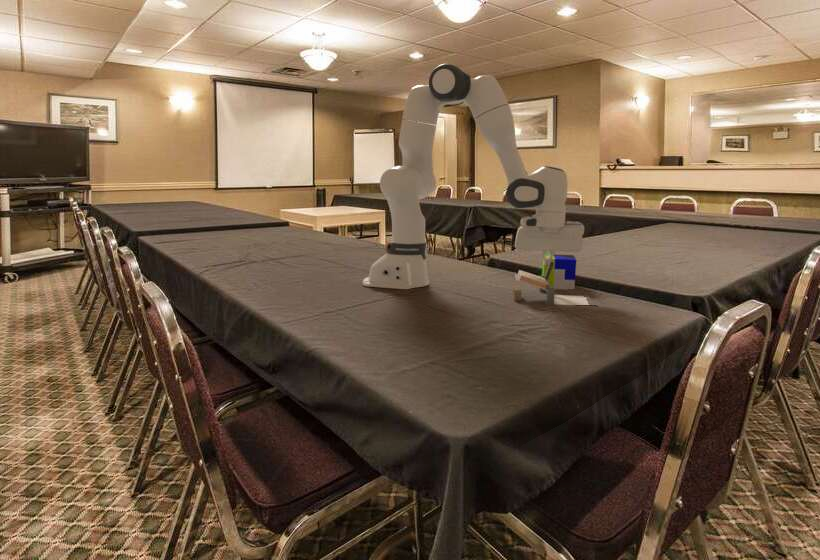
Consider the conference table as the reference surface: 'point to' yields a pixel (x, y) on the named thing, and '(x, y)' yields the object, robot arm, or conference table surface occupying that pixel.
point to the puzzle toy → (561, 271)
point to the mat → (570, 300)
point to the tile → (532, 279)
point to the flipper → (544, 277)
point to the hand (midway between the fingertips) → (546, 265)
